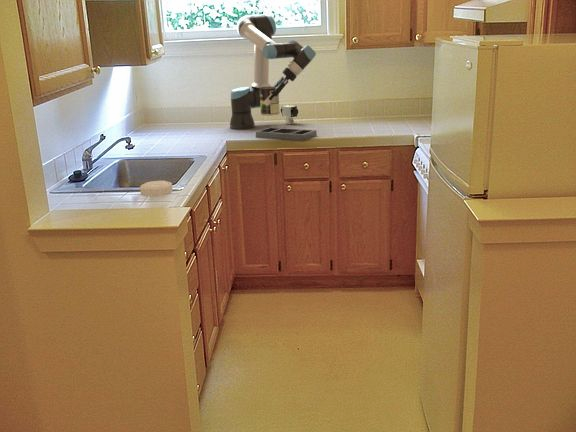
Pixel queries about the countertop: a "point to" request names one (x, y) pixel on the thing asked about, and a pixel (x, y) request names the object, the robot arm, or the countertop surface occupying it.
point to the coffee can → (273, 105)
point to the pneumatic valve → (289, 113)
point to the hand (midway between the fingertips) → (264, 103)
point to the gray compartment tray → (286, 133)
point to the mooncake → (156, 188)
